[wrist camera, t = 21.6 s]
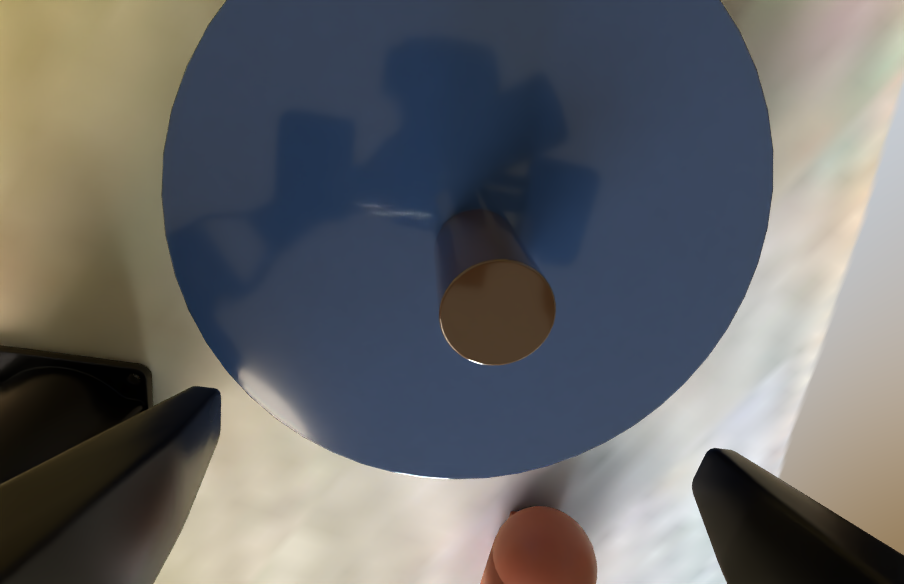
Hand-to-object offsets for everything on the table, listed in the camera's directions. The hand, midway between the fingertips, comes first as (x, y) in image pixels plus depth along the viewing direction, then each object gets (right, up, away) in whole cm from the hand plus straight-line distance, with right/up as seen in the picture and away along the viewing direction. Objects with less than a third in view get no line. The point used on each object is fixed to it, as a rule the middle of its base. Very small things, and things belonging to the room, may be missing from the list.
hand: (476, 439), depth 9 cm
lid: (0, +4, +6) cm, 8 cm away
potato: (+4, -11, +17) cm, 21 cm away
